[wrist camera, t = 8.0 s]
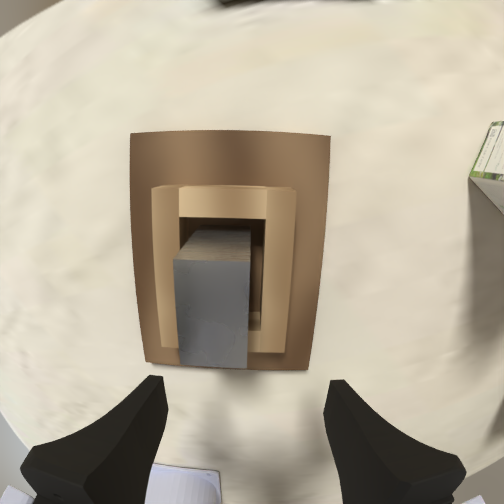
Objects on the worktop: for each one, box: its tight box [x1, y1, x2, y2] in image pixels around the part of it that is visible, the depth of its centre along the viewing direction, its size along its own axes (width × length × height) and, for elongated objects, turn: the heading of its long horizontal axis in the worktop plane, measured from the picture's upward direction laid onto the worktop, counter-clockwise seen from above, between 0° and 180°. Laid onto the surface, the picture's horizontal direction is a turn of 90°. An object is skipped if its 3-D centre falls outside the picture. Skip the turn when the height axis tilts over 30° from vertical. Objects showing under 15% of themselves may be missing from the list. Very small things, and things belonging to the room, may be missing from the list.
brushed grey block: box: [173, 225, 251, 368], centre depth 16 cm, size 3×5×7 cm, turn 178°
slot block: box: [130, 130, 331, 370], centre depth 19 cm, size 12×16×4 cm
